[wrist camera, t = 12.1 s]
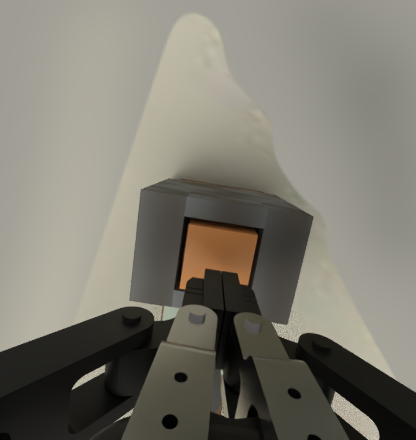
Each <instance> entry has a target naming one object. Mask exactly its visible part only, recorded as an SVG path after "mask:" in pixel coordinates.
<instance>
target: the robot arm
mask: <svg viewBox="0 0 416 440" xmlns="http://www.w3.org/2000/svg"><path fill="white" fill-rule="evenodd" d="M105 364H106V365H105ZM103 365H105V372H104V373H102V374H100V375H99V376H97V377H95V378H93V379H91V380H90V381H88V382H86V383H84V384H82V385H80V386H79V387H77V388H75V389H73V390H72V388H73V386H74V385H75V383H76V382H77V381H78V380H79V379H80V378H81V377H83V376H84V375H86V374H88V373H90V372H92V371H94V370H95V369H97V368H99V367H101V366H103ZM214 366H215V369H219V370H223V377H222V383H221V397H222V405H223V413H224V416H222V415H219V414H216V413H214V412H211V411H210V410H211V399H212V388H213V377H214ZM335 391H336V392H337V393H338V394H340V395H341V396H342V397H344V398H345V399H346V400H347V401H349V402H350V403H351V404H353V405H354V406H355V407H357V408H358V409H359V410H360V411H362V412H363V413H364V414H366V415H367V416H368V417H369V418H371V420H372V421H373V422H374V423H375V425H376V426H377V428H378V431H379V435H380V438H379V440H416V392H414V391H412V390H411V389H409V388H407V387H406V386H404V385H403V384H401V383H400V382H398V381H396V380H395V379H393V378H392V377H390V376H388V375H387V374H385V373H384V372H382V371H380V370H379V369H377V368H375V367H374V366H372V365H371V364H369V363H367V362H366V361H364V360H363V359H361V358H359V357H358V356H356V355H355V354H353V353H351V352H350V351H348V350H347V349H345V348H343V347H342V346H340V345H339V344H337V343H335V342H334V341H332V340H330V339H329V338H327V337H324V336H322V335H318V334H314V333H305V334H302V335H301V336H300V337H299V341H298V343H295V342H292V341H289V340H287V339H284V338H281V337H279V336H278V334H277V332H276V330H275V328H274V326H273V325H272V323H271V322H270V321H269V320H268V319H266V318H264V317H263V316H262V315H261V312H260V308H259V305H258V304H257V299H256V296H255V293H254V291H253V290H252V289H251V288H250V287H249V286H248V285H243V284H240V282H239V278H238V274H237V273H233V272H226V271H222V272H221V271H219V270H213V269H206V268H205V272H204V279H203V278H196V277H192V278H191V279H189V280H188V281H187V283H186V288H185V293H184V298H183V302H182V307H181V308H180V309H179V310H178V312H177V314H176V317H174V318H172V319H169V320H165V321H154V316H153V314H152V313H151V312H150V311H148V310H146V309H144V308H141V307H123V308H120V309H117V310H114V311H111V312H109V313H106V314H103V315H100V316H98V317H95V318H92V319H89V320H87V321H84V322H81V323H78V324H76V325H73V326H70V327H68V328H65V329H62V330H59V331H57V332H54V333H51V334H49V335H46V336H43V337H40V338H37V339H35V340H32V341H29V342H26V343H24V344H21V345H18V346H16V347H13V348H10V349H8V350H5V351H2V352H0V440H368V439H366V438H365V437H364V436H363V435H362V434H360V433H359V432H358V431H357V430H356V429H354V428H353V427H352V426H351V425H350V424H348V423H347V422H346V421H345V420H343V419H342V418H341V417H340V416H339V415H337V414H336V413H335V412H334V411H333V410H332V408H331V404H332V400H333V397H334V394H335ZM133 408H134V410H133V412H132V414H131V416H129V417H126V418H123V419H121V420H119V421H116V420H118V419H119V418H120V417H122V416H123V415H125V414H126V413H127V412H129V411H130V410H131V409H133ZM115 421H116V422H115ZM113 422H114V423H113Z"/></svg>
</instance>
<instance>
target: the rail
mask: <svg viewBox="0 0 416 440" xmlns="http://www.w3.org/2000/svg"><path fill="white" fill-rule="evenodd" d="M191 218H198V219H204V220H211V221H217V222H224V223H230V224H236V225H243V226H249V227H253V228H254V229H255V231H256V233H257V234H258V238H257V243H256V248H255V253H254V258H253V263H252V267H251V272H250V277H249V282H248V286H249V287H250V288H251V289H252V290H253V291H254V293H255V296H256V299H257V304H258V305H259V308H260V312H261V315H262V316H263V317H264V318H266V319H268V320H269V321H270V322H273V323H280V324H286V325H287V324H288V320H289V316H290V312H291V307H292V303H293V299H294V295H295V291H296V287H297V283H298V279H299V274H300V270H301V266H302V262H303V258H304V254H305V250H306V246H307V241H308V237H309V233H310V229H311V225H312V221H313V216H311V215H309V214H308V213H306V212H304V211H302V210H300V209H299V208H297V207H295V206H293V205H291V204H290V203H288V202H286V201H284V200H283V199H281V198H279V197H277V196H275V195H269V194H264V193H263V192H259V191H252V190H246V189H240V188H233V187H227V186H221V185H214V184H208V183H202V182H196V181H189V180H183V179H181V180H174V179H167V180H164V181H162V182H159V183H156V184H154V185H151V186H149V187H146V188H144V189H141V194H140V203H139V213H138V223H137V232H136V242H135V251H134V261H133V271H132V280H131V290H130V300H129V301H135V302H142V303H148V304H155V305H161V306H163V309H162V316H161V321H162V319H163V312H164V306H168V307H175V308H181V307H182V302H183V298H184V293H185V289H179V288H180V282H181V275H182V268H183V261H184V254H185V247H186V240H187V233H188V226H189V223H190V220H191ZM222 377H223V375H222V374H221V383H222ZM221 409H222V401H221V405H220V407H219V409H218V410H217V411H216V414H219V415H220V414H221Z"/></svg>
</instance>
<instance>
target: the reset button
mask: <svg viewBox="0 0 416 440" xmlns="http://www.w3.org/2000/svg"><path fill="white" fill-rule="evenodd" d="M257 238H258V234H257V233H256V231H255V229H254V228H253V227H249V226H243V225H236V224H230V223H224V222H217V221H211V220H204V219H198V218H191V220H190V223H189V226H188V233H187V240H186V247H185V254H184V261H183V268H182V275H181V282H180V288H179V289H185V288H186V283H187V281H188V280H189V279H191V278H192V277H196V278H203V279H204V272H205V268H206V269H213V270H219V271H221V272H222V271H226V272H233V273H237V274H238V278H239V282H240V284H243V285H248V282H249V277H250V272H251V267H252V263H253V258H254V253H255V248H256V243H257Z"/></svg>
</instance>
